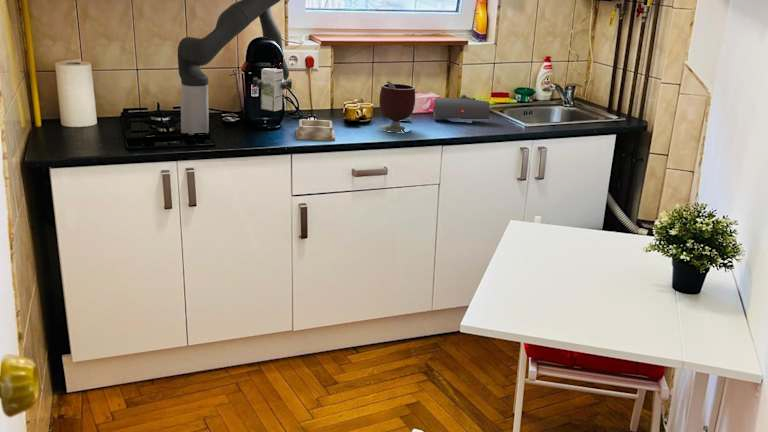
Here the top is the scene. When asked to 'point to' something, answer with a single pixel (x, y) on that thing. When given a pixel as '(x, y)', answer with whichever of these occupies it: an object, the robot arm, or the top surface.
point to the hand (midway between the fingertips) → (271, 86)
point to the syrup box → (271, 89)
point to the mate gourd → (396, 104)
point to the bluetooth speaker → (461, 108)
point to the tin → (357, 101)
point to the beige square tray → (315, 130)
